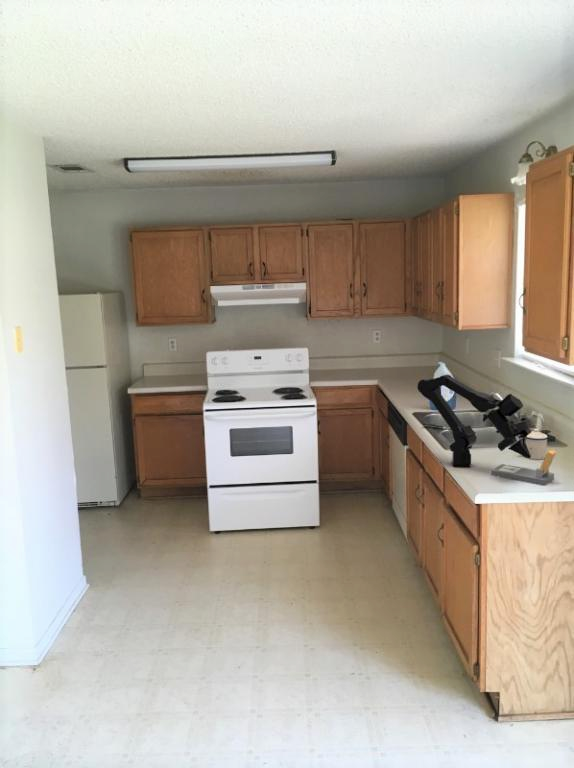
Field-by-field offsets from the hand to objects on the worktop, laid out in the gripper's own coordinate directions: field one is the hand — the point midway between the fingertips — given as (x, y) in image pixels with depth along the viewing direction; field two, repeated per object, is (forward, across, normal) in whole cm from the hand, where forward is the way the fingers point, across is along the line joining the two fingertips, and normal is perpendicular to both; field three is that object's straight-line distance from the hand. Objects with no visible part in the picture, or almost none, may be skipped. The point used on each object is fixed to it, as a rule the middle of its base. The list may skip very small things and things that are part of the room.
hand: (529, 457), depth 230 cm
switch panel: (+4, 0, +7) cm, 8 cm away
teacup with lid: (-1, +28, +12) cm, 31 cm away
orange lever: (+7, 0, 0) cm, 7 cm away
